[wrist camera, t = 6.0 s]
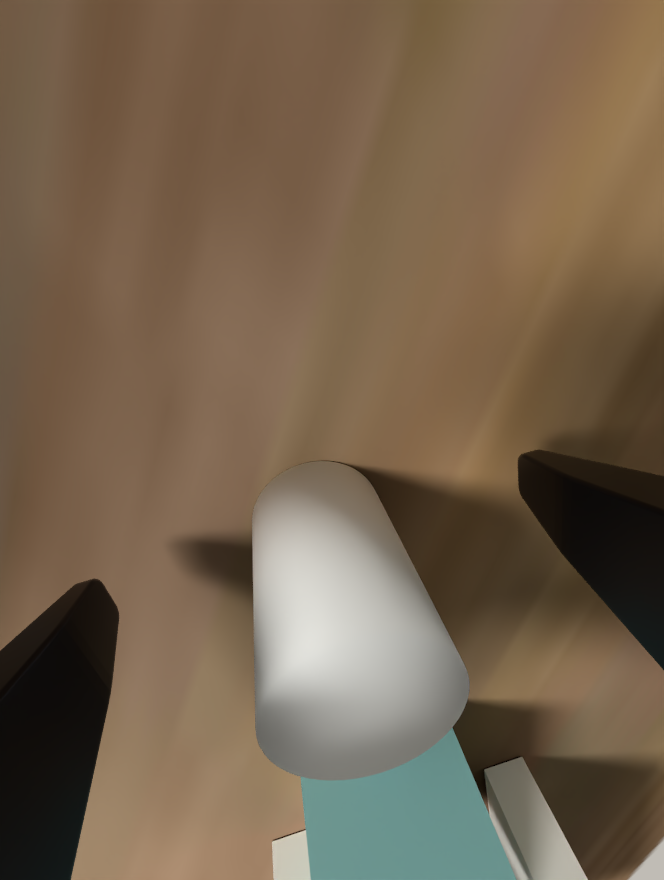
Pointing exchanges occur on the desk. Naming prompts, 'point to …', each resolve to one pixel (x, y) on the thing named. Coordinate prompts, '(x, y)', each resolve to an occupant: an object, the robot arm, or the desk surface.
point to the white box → (515, 820)
